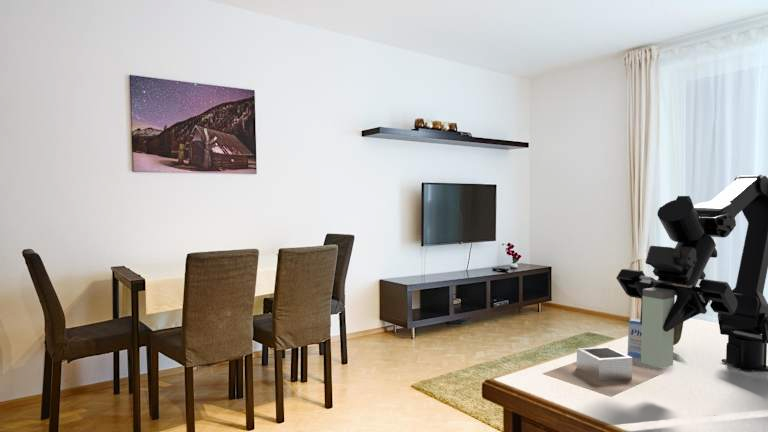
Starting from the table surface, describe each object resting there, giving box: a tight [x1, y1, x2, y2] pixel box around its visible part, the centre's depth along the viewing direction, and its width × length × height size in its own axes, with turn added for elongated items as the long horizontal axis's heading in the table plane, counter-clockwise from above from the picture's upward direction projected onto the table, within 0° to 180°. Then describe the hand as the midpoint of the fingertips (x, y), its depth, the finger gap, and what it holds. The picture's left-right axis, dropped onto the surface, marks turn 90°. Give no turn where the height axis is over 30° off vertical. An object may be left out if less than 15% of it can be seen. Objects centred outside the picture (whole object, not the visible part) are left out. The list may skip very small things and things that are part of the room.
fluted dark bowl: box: [673, 322, 684, 350], centre depth 116 cm, size 8×7×8 cm
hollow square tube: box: [576, 346, 633, 381], centre depth 98 cm, size 7×7×4 cm
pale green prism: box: [640, 287, 676, 369], centre depth 87 cm, size 4×4×13 cm
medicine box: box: [627, 317, 642, 358], centre depth 109 cm, size 8×4×9 cm, turn 50°
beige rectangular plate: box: [542, 361, 665, 398], centre depth 98 cm, size 20×14×1 cm
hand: (653, 327), depth 86 cm, fingers closed on pale green prism, 4 cm apart
